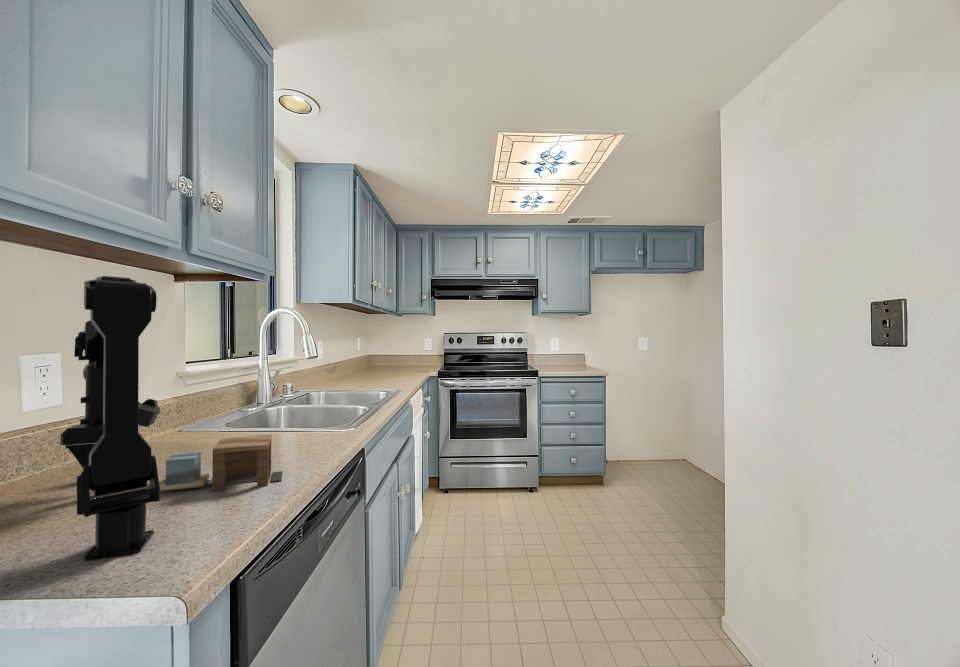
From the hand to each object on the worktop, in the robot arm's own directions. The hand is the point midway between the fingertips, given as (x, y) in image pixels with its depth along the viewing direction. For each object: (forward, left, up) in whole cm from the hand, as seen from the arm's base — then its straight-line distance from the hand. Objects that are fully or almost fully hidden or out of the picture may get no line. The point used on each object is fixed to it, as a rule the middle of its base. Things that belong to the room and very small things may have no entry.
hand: (104, 470), depth 83 cm
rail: (0, -13, -5) cm, 14 cm away
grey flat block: (0, -30, -5) cm, 31 cm away
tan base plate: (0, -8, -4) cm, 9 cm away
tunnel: (0, -24, -5) cm, 24 cm away
